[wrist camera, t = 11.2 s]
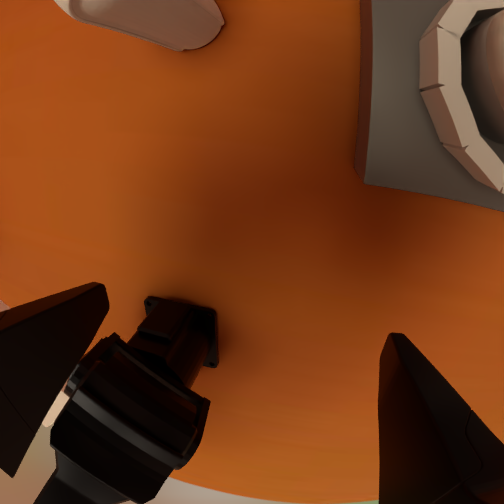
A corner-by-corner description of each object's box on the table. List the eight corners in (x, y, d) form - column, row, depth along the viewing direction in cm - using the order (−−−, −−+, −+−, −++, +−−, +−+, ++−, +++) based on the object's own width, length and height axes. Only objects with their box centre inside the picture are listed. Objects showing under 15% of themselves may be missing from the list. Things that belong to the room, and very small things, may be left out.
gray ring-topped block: (527, 205, 14) (588, 247, 8) (353, 167, 17) (371, 197, 10) (536, 51, 9) (599, 42, 3) (359, -10, 12) (372, -72, 5)
